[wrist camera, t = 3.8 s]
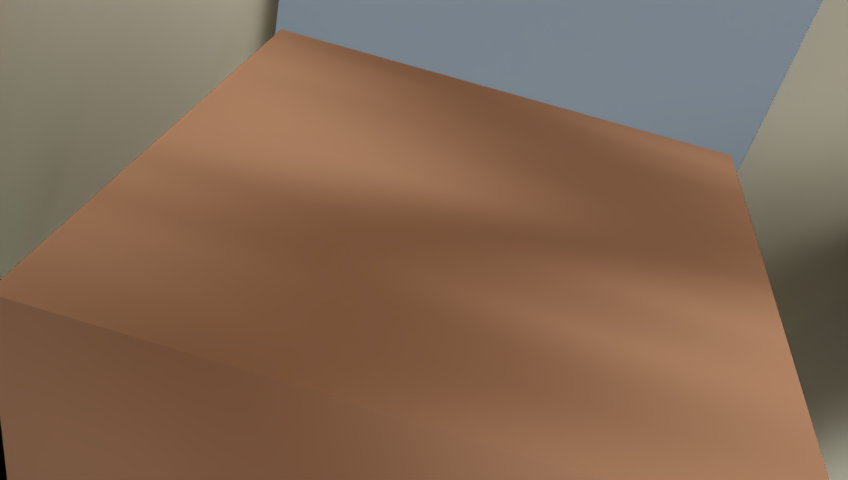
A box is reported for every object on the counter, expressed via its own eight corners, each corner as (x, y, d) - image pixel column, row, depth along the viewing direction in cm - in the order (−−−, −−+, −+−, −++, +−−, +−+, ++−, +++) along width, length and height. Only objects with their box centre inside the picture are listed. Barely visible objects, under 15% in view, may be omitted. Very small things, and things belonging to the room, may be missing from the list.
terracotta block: (731, 155, 9) (853, 552, 4) (581, 465, 11) (567, 891, 7) (280, 28, 9) (-13, 292, 5) (241, 363, 12) (33, 720, 7)
